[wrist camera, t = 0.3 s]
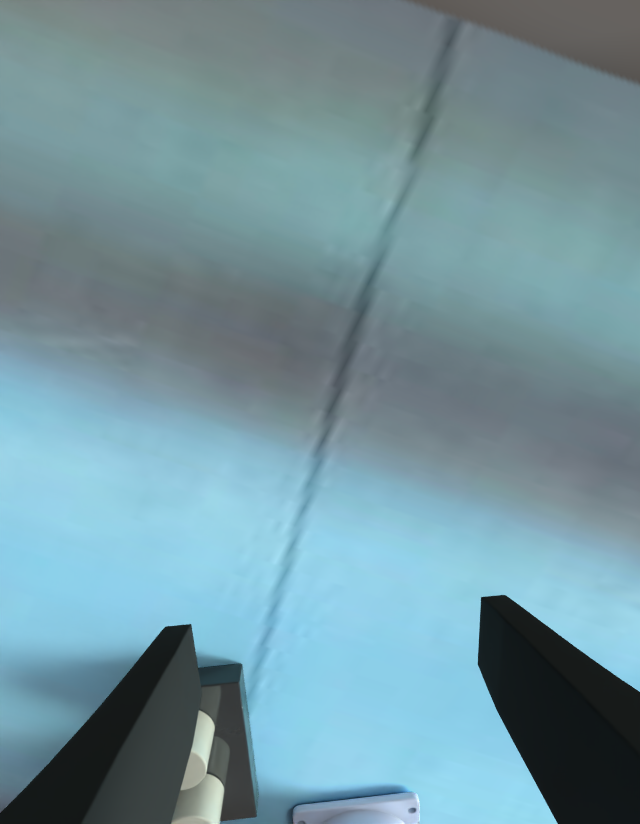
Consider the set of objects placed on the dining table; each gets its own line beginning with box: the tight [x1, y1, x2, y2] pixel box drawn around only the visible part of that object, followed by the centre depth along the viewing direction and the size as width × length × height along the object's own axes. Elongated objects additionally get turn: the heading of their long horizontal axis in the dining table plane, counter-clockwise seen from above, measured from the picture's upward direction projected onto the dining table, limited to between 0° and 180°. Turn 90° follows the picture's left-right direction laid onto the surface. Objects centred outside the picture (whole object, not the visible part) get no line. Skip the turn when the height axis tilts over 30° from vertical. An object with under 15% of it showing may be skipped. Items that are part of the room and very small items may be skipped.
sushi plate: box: [171, 664, 259, 824], centre depth 21 cm, size 10×6×3 cm, turn 3°
